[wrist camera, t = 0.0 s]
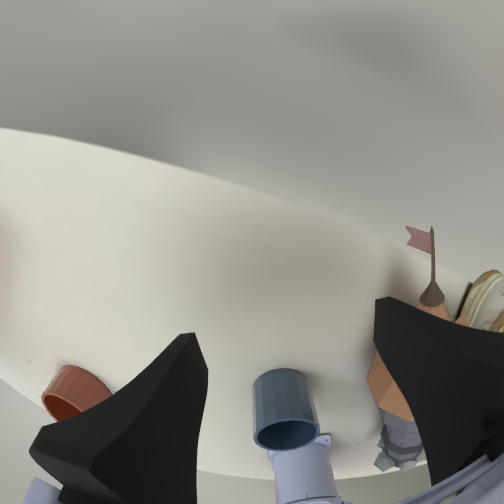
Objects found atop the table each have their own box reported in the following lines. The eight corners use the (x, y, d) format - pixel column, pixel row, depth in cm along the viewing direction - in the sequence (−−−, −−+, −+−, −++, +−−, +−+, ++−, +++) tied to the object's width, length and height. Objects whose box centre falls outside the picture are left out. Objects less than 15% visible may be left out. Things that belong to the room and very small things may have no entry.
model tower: (455, 438, 20) (522, 209, 10) (391, 493, 18) (446, 293, 8) (415, 402, 29) (423, 191, 19) (353, 447, 27) (319, 238, 17)
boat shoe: (450, 410, 28) (474, 444, 19) (404, 431, 28) (426, 473, 19) (502, 262, 20) (553, 290, 12) (455, 275, 20) (516, 315, 12)
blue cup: (309, 399, 24) (319, 444, 19) (258, 408, 25) (259, 454, 19) (306, 363, 23) (319, 412, 17) (248, 373, 23) (248, 423, 17)
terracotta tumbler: (125, 414, 26) (113, 444, 21) (80, 408, 26) (66, 433, 21) (94, 366, 23) (75, 397, 18) (49, 363, 24) (30, 388, 19)
